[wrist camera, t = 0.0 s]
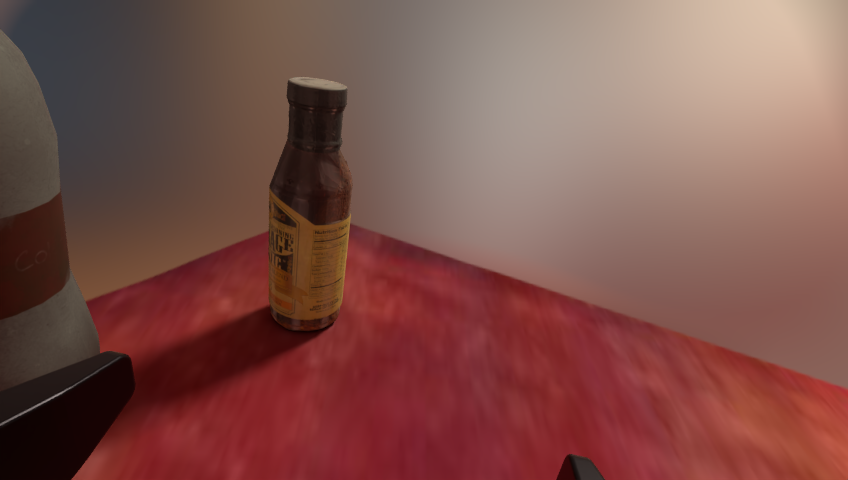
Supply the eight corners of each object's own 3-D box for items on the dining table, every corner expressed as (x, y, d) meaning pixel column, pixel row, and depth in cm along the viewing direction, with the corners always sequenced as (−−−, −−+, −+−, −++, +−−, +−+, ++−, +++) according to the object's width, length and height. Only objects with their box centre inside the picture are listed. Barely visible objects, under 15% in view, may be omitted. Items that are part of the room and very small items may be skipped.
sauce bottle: (265, 298, 40) (263, 69, 32) (332, 292, 43) (347, 78, 34) (273, 344, 35) (274, 82, 26) (350, 333, 37) (372, 92, 29)
